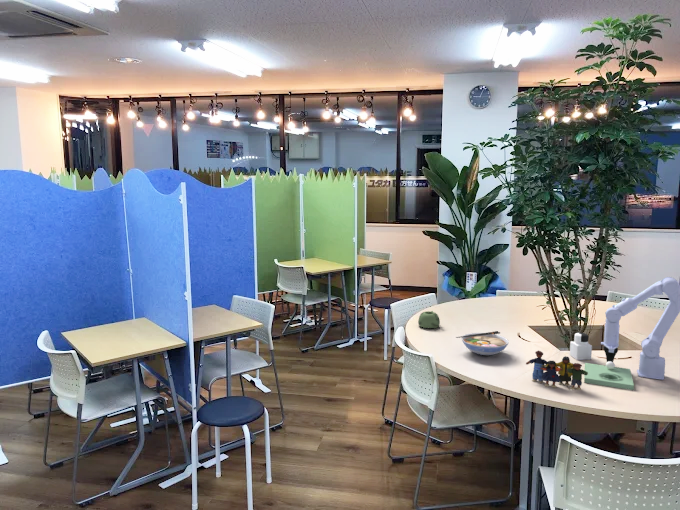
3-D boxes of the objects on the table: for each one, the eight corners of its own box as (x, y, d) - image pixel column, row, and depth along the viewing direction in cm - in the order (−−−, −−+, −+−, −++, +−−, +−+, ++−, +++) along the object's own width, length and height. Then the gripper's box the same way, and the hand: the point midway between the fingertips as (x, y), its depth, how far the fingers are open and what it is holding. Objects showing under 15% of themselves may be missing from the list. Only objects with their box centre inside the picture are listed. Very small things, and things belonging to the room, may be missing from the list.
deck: (629, 373, 216) (630, 369, 216) (633, 390, 198) (633, 385, 198) (584, 366, 224) (584, 362, 224) (584, 382, 206) (584, 378, 206)
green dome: (437, 330, 283) (437, 316, 282) (415, 328, 288) (415, 314, 287) (442, 323, 297) (443, 309, 296) (422, 321, 302) (422, 307, 301)
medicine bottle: (583, 354, 240) (585, 331, 238) (591, 359, 233) (592, 335, 231) (569, 355, 240) (570, 331, 238) (576, 360, 233) (578, 336, 231)
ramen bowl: (474, 364, 229) (474, 347, 228) (450, 348, 251) (451, 333, 250) (520, 358, 236) (520, 342, 235) (493, 344, 257) (493, 329, 256)
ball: (614, 368, 216) (614, 360, 216) (614, 371, 213) (615, 363, 213) (605, 367, 218) (605, 359, 217) (605, 369, 215) (606, 362, 214)
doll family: (527, 386, 204) (528, 355, 202) (524, 377, 212) (526, 348, 210) (587, 391, 198) (589, 359, 196) (582, 382, 206) (584, 352, 205)
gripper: (601, 328, 227) (599, 356, 229) (601, 337, 214) (599, 367, 216) (618, 330, 223) (616, 359, 225) (620, 339, 211) (618, 369, 213)
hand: (609, 363), depth 220 cm, fingers closed
